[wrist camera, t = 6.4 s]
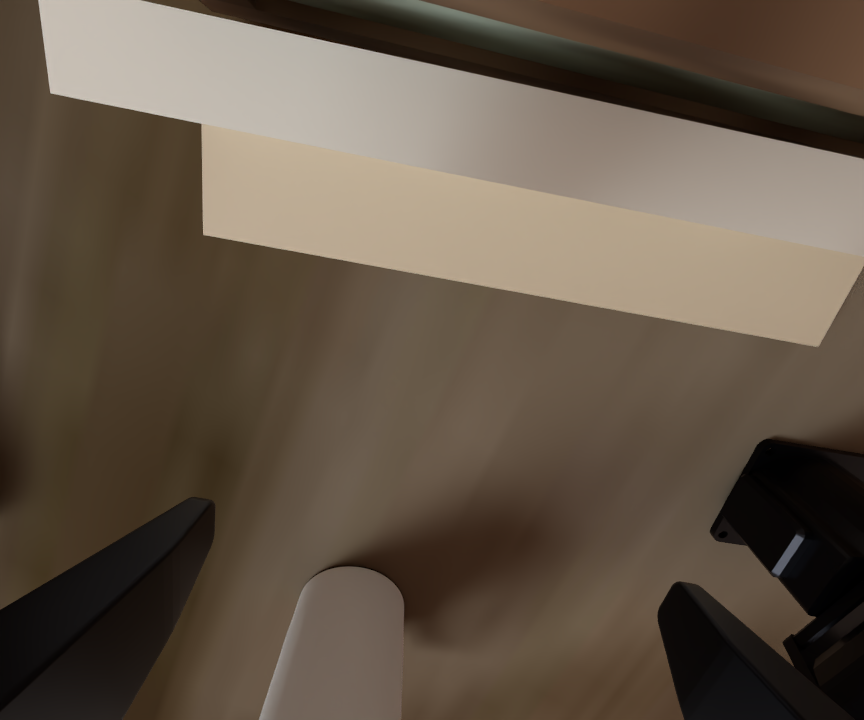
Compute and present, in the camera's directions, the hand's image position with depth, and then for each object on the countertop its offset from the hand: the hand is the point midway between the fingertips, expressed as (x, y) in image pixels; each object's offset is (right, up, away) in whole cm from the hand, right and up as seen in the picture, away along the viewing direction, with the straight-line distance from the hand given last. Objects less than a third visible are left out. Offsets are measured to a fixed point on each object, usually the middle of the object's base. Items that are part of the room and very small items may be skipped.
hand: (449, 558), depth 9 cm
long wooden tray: (+4, +10, +10) cm, 14 cm away
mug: (-4, -12, +19) cm, 23 cm away
